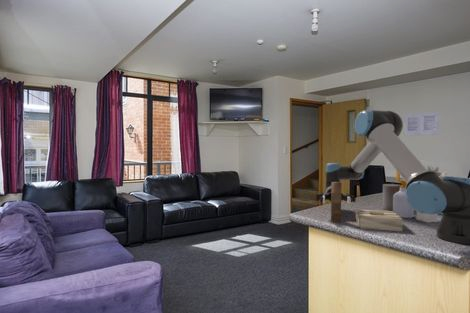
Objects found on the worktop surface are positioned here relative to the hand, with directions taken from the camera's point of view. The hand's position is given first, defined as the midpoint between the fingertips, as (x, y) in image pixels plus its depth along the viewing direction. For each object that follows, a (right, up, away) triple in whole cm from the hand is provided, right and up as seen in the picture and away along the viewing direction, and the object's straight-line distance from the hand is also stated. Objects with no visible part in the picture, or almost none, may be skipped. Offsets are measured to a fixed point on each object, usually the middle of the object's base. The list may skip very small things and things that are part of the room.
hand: (336, 201), depth 138 cm
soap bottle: (+38, -10, +15) cm, 42 cm away
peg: (+1, -10, +4) cm, 11 cm away
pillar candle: (+42, -9, +32) cm, 53 cm away
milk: (+44, -10, +5) cm, 46 cm away
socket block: (+17, -10, -3) cm, 20 cm away
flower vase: (+56, -10, +26) cm, 63 cm away
